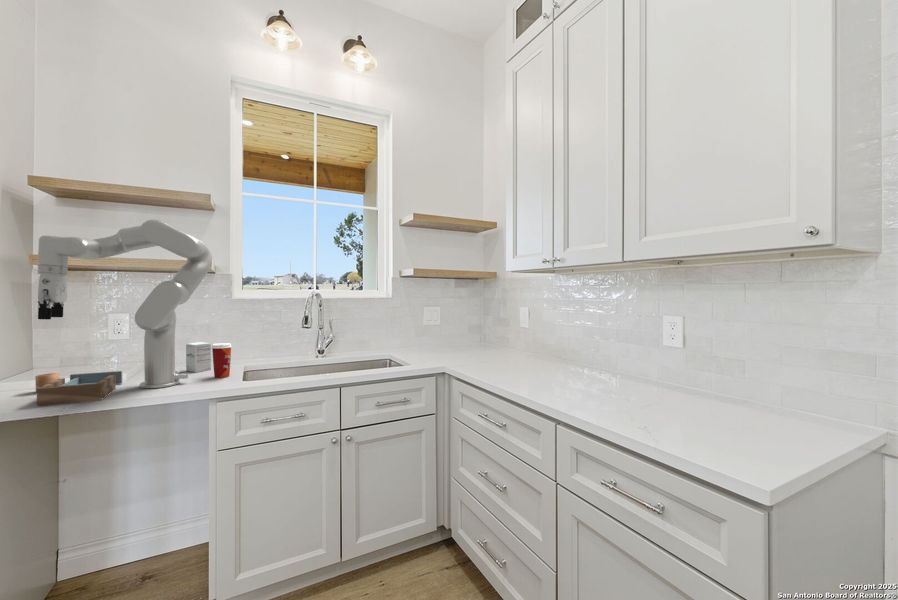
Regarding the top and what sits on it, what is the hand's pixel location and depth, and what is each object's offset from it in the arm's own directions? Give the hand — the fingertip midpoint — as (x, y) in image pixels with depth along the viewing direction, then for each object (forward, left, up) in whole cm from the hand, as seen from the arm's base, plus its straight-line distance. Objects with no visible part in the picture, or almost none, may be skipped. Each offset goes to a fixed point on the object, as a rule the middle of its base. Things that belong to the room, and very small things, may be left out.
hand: (50, 318), depth 139 cm
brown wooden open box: (-11, +13, -27) cm, 32 cm away
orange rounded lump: (+2, -1, -27) cm, 27 cm away
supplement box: (-42, -21, -27) cm, 54 cm away
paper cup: (-53, -3, -27) cm, 59 cm away
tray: (-11, +4, -27) cm, 29 cm away
